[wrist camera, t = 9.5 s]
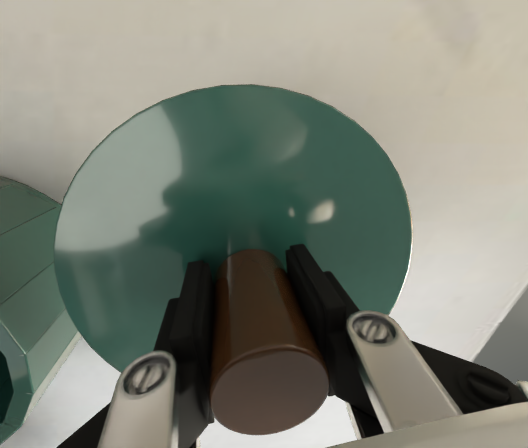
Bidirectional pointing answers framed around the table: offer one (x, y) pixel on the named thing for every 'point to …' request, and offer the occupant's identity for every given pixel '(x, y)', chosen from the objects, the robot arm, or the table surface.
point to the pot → (29, 303)
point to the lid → (232, 238)
